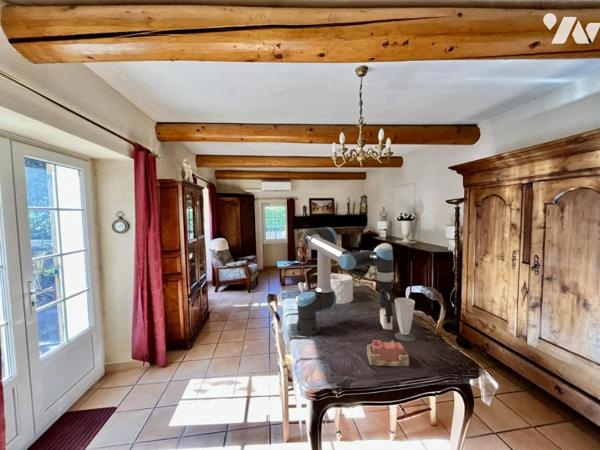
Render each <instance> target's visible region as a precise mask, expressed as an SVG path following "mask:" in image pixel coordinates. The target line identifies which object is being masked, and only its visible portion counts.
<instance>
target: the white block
mask: <svg viewBox="0 0 600 450" xmlns="http://www.w3.org/2000/svg"><path fill="white" fill-rule="evenodd" d="M384 315H386V313H385V310H381V309H379V321H380V324H381V326H382V328H383V330H386V329H385V316H384ZM390 330H393V316H391V329H390Z"/></svg>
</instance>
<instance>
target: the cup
mask: <svg viewBox="0 0 600 450" xmlns="http://www.w3.org/2000/svg"><path fill="white" fill-rule="evenodd" d="M393 301H394V307H395V313H396V320H397V323H398V327H399V331H398V332H395V333H394V337H395V338H396V339H397V340H399V341H402V342H413V341H415V340H416V336H415V335H414V334H412V333H410V331H411V328H412V323H413V317H414V311H415V304H416V302H415V300H414V299H412V298H407V297H397V298H396V297H395V299H394V300H393Z"/></svg>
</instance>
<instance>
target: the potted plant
mask: <svg viewBox="0 0 600 450" xmlns="http://www.w3.org/2000/svg"><path fill="white" fill-rule="evenodd" d="M297 287H298V288H299V291H300V294H301V293H304V290H305V289H306V288H307V282H299V283H298V285H297ZM298 296H299V295H297V296H296V297H295V303H296V305H297V306H298V304H297V301H298Z"/></svg>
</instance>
